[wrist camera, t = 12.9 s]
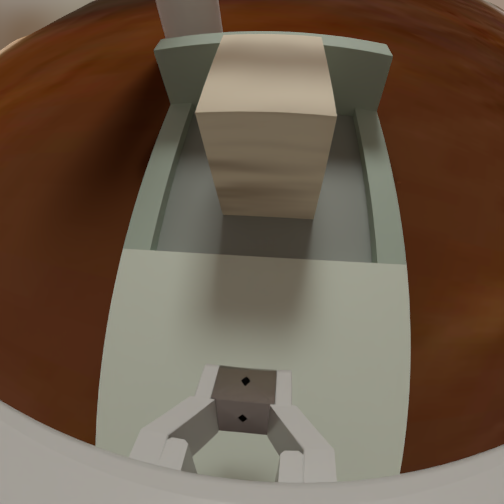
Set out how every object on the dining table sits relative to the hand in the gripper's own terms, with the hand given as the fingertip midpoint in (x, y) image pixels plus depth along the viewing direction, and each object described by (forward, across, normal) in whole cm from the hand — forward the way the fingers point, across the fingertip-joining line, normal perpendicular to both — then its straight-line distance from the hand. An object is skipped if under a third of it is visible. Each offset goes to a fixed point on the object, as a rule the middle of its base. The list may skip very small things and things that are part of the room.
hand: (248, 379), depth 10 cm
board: (+9, 0, +1) cm, 9 cm away
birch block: (+15, 0, -5) cm, 16 cm away
